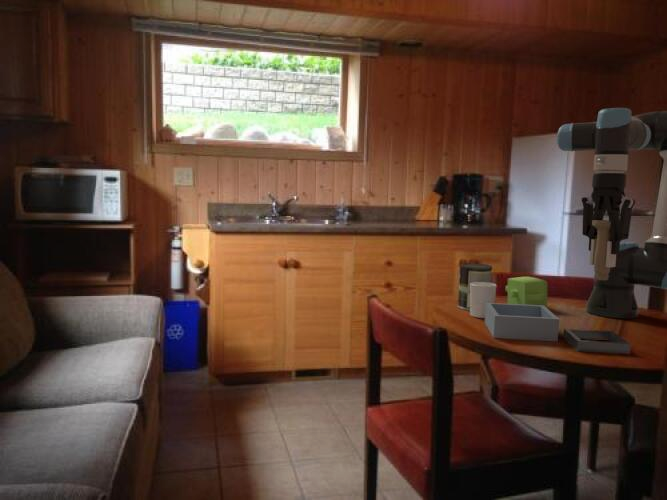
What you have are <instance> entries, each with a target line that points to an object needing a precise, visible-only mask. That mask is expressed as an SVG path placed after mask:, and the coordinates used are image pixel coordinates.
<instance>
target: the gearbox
mask: <svg viewBox="0 0 667 500" xmlns="http://www.w3.org/2000/svg"><path fill="white" fill-rule="evenodd" d="M505 292H507V304H522V305H542V306H545V307H546V308H547V309H548V281H547V280H545V279H541V278H538V277H534V276H533V277H532V276H519V277H511V278H507V285H505Z"/></svg>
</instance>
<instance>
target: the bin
mask: <svg viewBox="0 0 667 500" xmlns="http://www.w3.org/2000/svg"><path fill="white" fill-rule="evenodd" d="M484 324H485V326H486V328H487V329H488V331H489V333H490V334H491V336H492V338H494V339H506V340H508V339H509V340H521V341H522V340H526V341H541V342H542V341H544V342H558V341H559V330H560V329H559V327H560V318H559V317H558V316H556V314H554V313H553V312H552V311H551V310H550V309H549V308H548V307H547V308H546V307H545V306H542V305H522V304H508V303H503V302H502V303H500V302H499V303H498V302H496V303H495V302H494V303H486V309H485V318H484Z"/></svg>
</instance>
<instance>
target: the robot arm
mask: <svg viewBox="0 0 667 500" xmlns="http://www.w3.org/2000/svg"><path fill="white" fill-rule="evenodd" d="M556 143H557V145H558V148H559V150H560V151H564V152H583V151H587V152H588V151H594V158H593V159H594V160H593V171H594V172H595V173H593V174H592V181H591V182H592V184H591V186H592V188H593V190H592V193H591V195H588V196H586V197H584V196H583V197H582V198H581V203H582V206H583V208H582V235H583V236H586V237H587V238H588V251H589V252H590V255H589V265H591V266H594V257H595V256H594V255H595V249H596V242H597V234H598V229H597V228H596V227H594V226H593V225H592V220H604V216H605V214H607V215H608V220H609V222H611V226H610V237H611V239H609V241H608V242H607V255H606V267H608V268H609V267H610V272H609V274H608V275H609V277H608V280H606V281H604V280H596V279H595V278H594V281H593V282H594V283H593V289H592V291H591V294H590V296H589V297H588V300H587V301H586V306H585V311H586V312H587V313H589V314H591V313H592V315H595V316H599V315H600V317H604V318H611V319H612V318H613V319H635V318H638V316H639V306H638V303H637V298H636V295H635V286H636V285H637V286H645V287H650V288H656V289H662V290H667V110H664V111H663V110H662V111H649V112H645V113H641V114H636V115H632V110H631V108H628V107H612V108H611V107H610V108H609V107H608V108H604V109H603V108H602V109H601V110H599V111H598V113H597V119H596V121H591V122H575V123H574V122H571V123H565V124H563V125H561V126H560V127H559V128H558V130H557V135H556ZM639 150H658V151H659V152H658V153H659V155H660V157H662V159H663V164H662V170H661V176H660V183H659V188H658V194H657V195H658V196H657V202H656V207H655V214H654V219H653V220H654V221H653V226H652V233H651V236H650V237H649V238H648V239H647V240H644V247H640V244H639V242H637V241H635V242H634V241H628V242H627V241H625V240H628V239H629V235H630V230H631V229H630V227H631V220H632V219H631V218H632V210H633V208H634V206H635V204H636V200H635V199H631V198H628V197H627V196H626V194H625V193H626V192H625V188H626V184H627V174H626V173H625V172H627V171H628V165H629V164H628V163H629V152H630V151H633V152H634V151H639ZM620 205H621V208H620ZM621 241H623V242H621ZM624 241H625V242H624Z"/></svg>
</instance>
